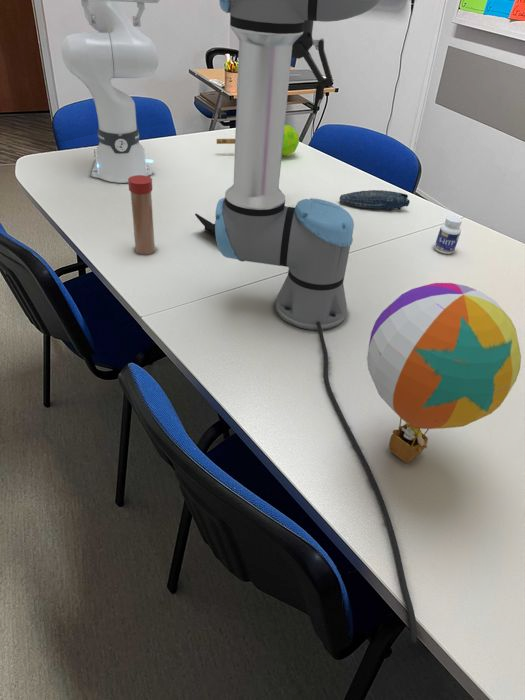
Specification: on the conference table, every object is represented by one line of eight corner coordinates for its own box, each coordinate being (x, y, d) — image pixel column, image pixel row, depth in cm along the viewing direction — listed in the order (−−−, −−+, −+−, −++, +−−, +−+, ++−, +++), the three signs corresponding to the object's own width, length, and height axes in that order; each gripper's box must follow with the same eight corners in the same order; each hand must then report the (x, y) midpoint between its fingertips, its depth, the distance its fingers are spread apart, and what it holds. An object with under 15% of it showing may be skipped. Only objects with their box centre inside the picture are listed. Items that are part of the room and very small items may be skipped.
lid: (127, 193, 116) (126, 183, 115) (130, 184, 120) (129, 174, 119) (151, 194, 117) (150, 184, 115) (153, 185, 121) (153, 175, 119)
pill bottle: (433, 251, 139) (442, 220, 133) (435, 243, 143) (444, 213, 137) (453, 256, 138) (464, 225, 132) (454, 247, 142) (465, 217, 136)
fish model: (408, 214, 157) (412, 198, 153) (339, 207, 158) (341, 191, 154) (406, 206, 162) (410, 190, 159) (339, 199, 163) (341, 183, 160)
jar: (134, 254, 126) (128, 184, 115) (137, 245, 130) (131, 177, 119) (153, 255, 127) (149, 185, 116) (156, 246, 130) (151, 178, 119)
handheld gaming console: (252, 231, 136) (235, 208, 128) (239, 253, 135) (221, 232, 127) (220, 222, 143) (201, 200, 134) (207, 244, 141) (188, 223, 133)
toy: (317, 443, 83) (351, 282, 64) (393, 393, 94) (441, 242, 75) (417, 530, 72) (494, 366, 53) (490, 462, 83) (575, 305, 64)
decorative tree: (213, 119, 187) (294, 118, 192) (214, 148, 193) (292, 147, 198) (219, 133, 173) (306, 132, 178) (220, 165, 179) (303, 163, 185)
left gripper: (156, -51, 111) (160, 25, 120) (55, -59, 105) (66, 21, 114) (161, -49, 106) (164, 29, 115) (56, -58, 101) (67, 26, 109)
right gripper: (351, 16, 123) (337, 111, 137) (248, 5, 125) (244, 100, 139) (351, 20, 118) (336, 118, 131) (243, 8, 119) (238, 107, 133)
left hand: (115, 25), depth 114 cm, fingers open, 8 cm apart
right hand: (288, 109), depth 135 cm, fingers open, 13 cm apart
